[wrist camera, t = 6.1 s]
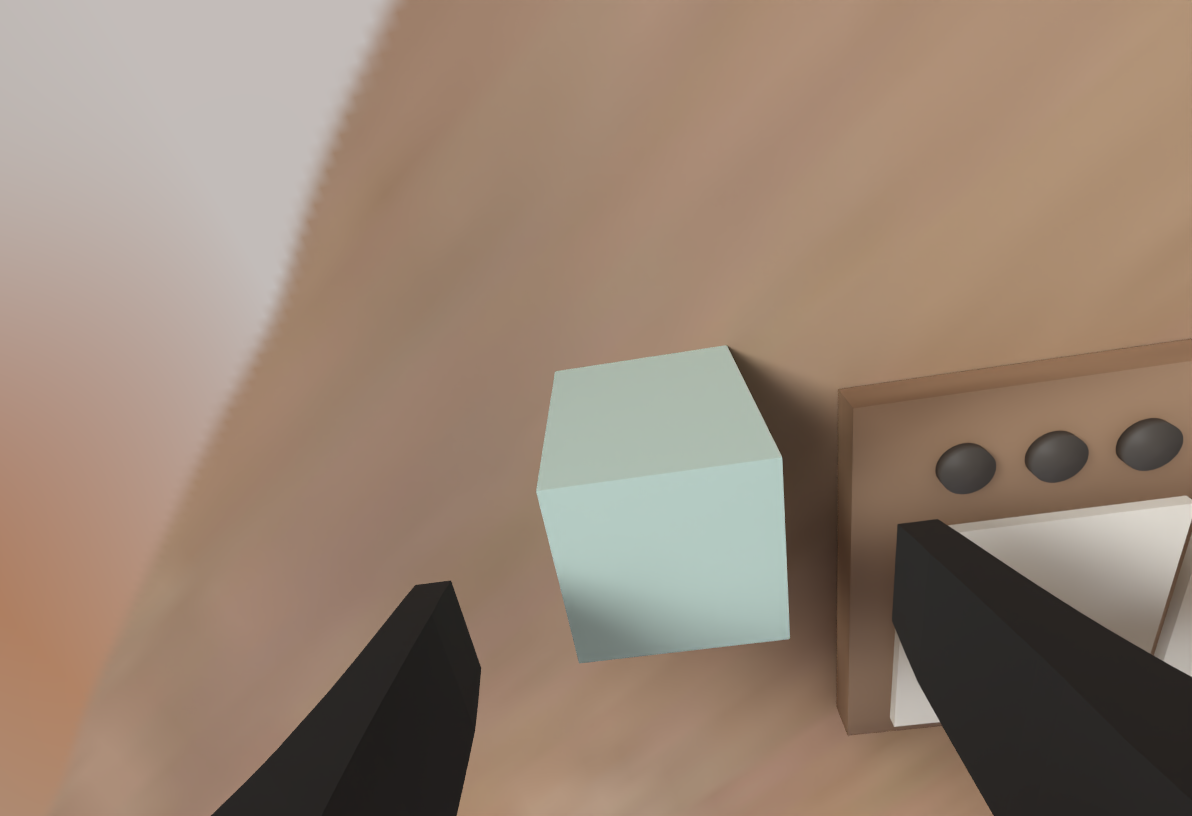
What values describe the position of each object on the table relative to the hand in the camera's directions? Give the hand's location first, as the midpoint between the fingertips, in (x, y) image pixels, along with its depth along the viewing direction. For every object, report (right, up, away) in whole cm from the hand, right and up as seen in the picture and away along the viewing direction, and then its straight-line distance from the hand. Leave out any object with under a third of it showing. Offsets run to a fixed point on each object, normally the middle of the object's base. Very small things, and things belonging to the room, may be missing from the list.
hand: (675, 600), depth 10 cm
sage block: (0, +2, +5) cm, 6 cm away
